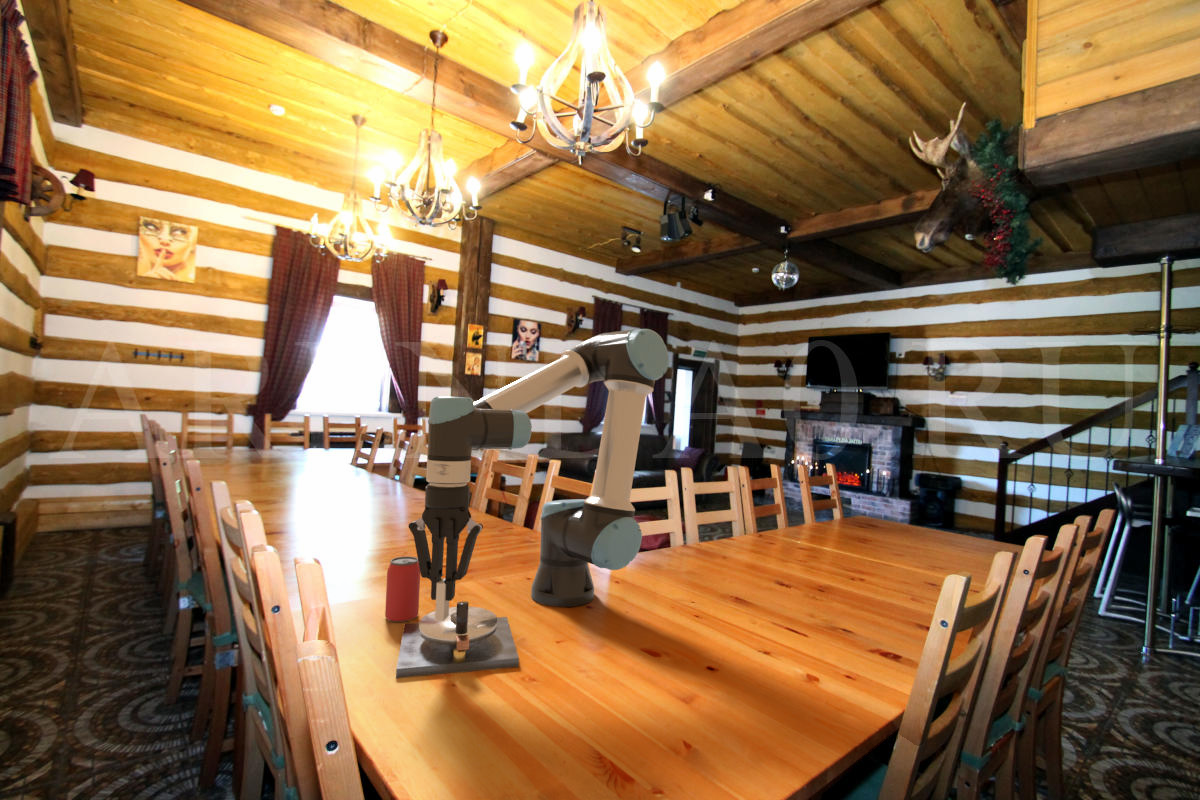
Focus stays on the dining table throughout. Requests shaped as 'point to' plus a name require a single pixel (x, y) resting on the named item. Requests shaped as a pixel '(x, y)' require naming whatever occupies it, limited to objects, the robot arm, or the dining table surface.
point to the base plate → (443, 654)
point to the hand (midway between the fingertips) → (441, 618)
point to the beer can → (402, 589)
